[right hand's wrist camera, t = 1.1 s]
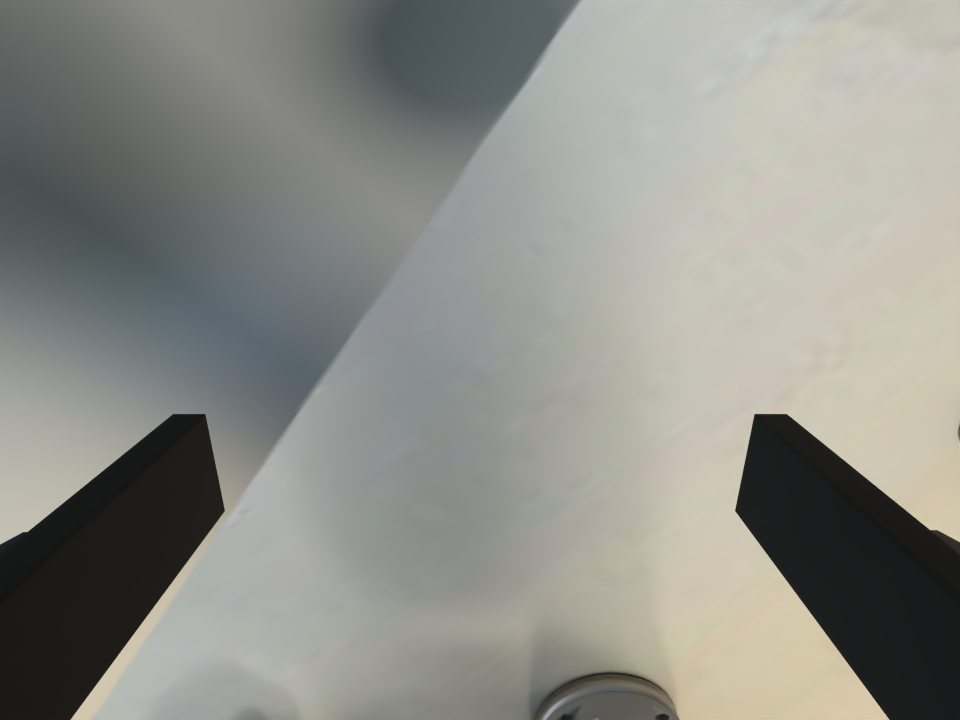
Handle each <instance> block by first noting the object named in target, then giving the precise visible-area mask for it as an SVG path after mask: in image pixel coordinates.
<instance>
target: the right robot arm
mask: <svg viewBox="0 0 960 720" xmlns="http://www.w3.org/2000/svg"><path fill="white" fill-rule="evenodd" d="M224 511H225V510H224V505H223V500H222V495H221V490H220V485H219V480H218V475H217V470H216V465H215V460H214V455H213V450H212V445H211V440H210V435H209V430H208V425H207V420H206V415H205V414H173V415H172V416H170V417H169V418H168V419H167V420H166V421H164V422H163V423H162V424H161V425H159V426H158V427H157V428H156V429H154V430H153V431H152V432H151V433H149V434H148V435H147V436H146V437H145V438H143V439H142V440H141V441H140V442H138V443H137V444H136V445H135V446H133V447H132V448H131V449H130V450H128V451H127V452H126V453H125V454H123V455H122V456H121V457H120V458H119V459H117V460H116V461H115V462H114V463H112V464H111V465H110V466H109V467H107V468H106V469H105V470H104V471H103V472H101V473H100V474H99V475H98V476H96V477H95V478H94V479H93V480H91V481H90V482H89V483H88V484H86V485H85V486H84V487H83V488H82V489H80V490H79V491H78V492H77V493H75V494H74V495H73V496H72V497H70V498H69V499H68V500H67V501H65V502H64V503H63V504H62V505H61V506H59V507H58V508H57V509H56V510H54V511H53V512H52V513H51V514H49V515H48V516H47V517H46V518H45V519H43V520H42V521H41V522H40V523H38V524H37V525H36V526H35V527H33V528H32V529H31V530H30V531H28V532H23V533H21V534H19V535H17V536H15V537H13V538H12V539H10V540H8V541H6V542H4V543H2V544H1V545H0V720H71V718H72V717H73V715H74V714H75V713H76V711H77V710H78V709H79V707H80V706H81V705H82V703H83V702H84V701H85V699H86V698H87V696H88V695H89V694H90V692H91V691H92V690H93V688H94V687H95V686H96V684H97V683H98V682H99V680H100V679H101V678H102V676H103V675H104V674H105V672H106V671H107V670H108V668H109V667H110V665H111V664H112V663H113V661H114V660H115V659H116V657H117V656H118V655H119V653H120V652H121V651H122V649H123V648H124V647H125V645H126V644H127V642H128V641H129V640H130V638H131V637H132V636H133V634H134V633H135V632H136V630H137V629H138V628H139V626H140V625H141V624H142V622H143V621H144V619H145V618H146V617H147V615H148V614H149V613H150V611H151V610H152V609H153V607H154V606H155V605H156V603H157V602H158V601H159V599H160V598H161V596H162V595H163V594H164V592H165V591H166V590H167V588H168V587H169V586H170V584H171V583H172V582H173V580H174V579H175V578H176V576H177V575H178V573H179V572H180V571H181V569H182V568H183V567H184V565H185V564H186V563H187V561H188V560H189V559H190V557H191V556H192V555H193V553H194V552H195V551H196V549H197V548H198V546H199V545H200V544H201V542H202V541H203V540H204V538H205V537H206V536H207V534H208V533H209V532H210V530H211V529H212V528H213V526H214V525H215V523H216V522H217V521H218V519H219V518H220V517H221V515H222V514H223V513H224ZM735 511H736V513H737V514H738V515H739V517H740V518H741V519H742V521H743V522H744V523H745V525H746V526H747V528H748V529H749V530H750V532H751V533H752V534H753V536H754V537H755V538H756V540H757V541H758V542H759V544H760V545H761V546H762V548H763V549H764V551H765V552H766V553H767V555H768V556H769V557H770V559H771V560H772V561H773V563H774V564H775V565H776V567H777V568H778V569H779V571H780V572H781V574H782V575H783V576H784V578H785V579H786V580H787V582H788V583H789V584H790V586H791V587H792V588H793V590H794V591H795V592H796V594H797V595H798V596H799V598H800V599H801V601H802V602H803V603H804V605H805V606H806V607H807V609H808V610H809V611H810V613H811V614H812V615H813V617H814V618H815V619H816V621H817V622H818V624H819V625H820V626H821V628H822V629H823V630H824V632H825V633H826V634H827V636H828V637H829V638H830V640H831V641H832V642H833V644H834V645H835V647H836V648H837V649H838V651H839V652H840V653H841V655H842V656H843V657H844V659H845V660H846V661H847V663H848V664H849V665H850V667H851V668H852V670H853V671H854V672H855V674H856V675H857V676H858V678H859V679H860V680H861V682H862V683H863V684H864V686H865V687H866V688H867V690H868V691H869V692H870V694H871V695H872V697H873V698H874V699H875V701H876V702H877V703H878V705H879V706H880V707H881V709H882V710H883V711H884V713H885V714H886V715H887V717H888V718H889V720H960V542H958V541H956V540H954V539H953V538H951V537H949V536H947V535H945V534H943V533H941V532H939V531H938V530H929V529H928V528H927V527H925V526H924V525H923V524H922V523H920V522H919V521H918V520H917V519H916V518H914V517H913V516H912V515H911V514H909V513H908V512H907V511H906V510H904V509H903V508H902V507H901V506H900V505H898V504H897V503H896V502H895V501H893V500H892V499H891V498H890V497H888V496H887V495H886V494H885V493H883V492H882V491H881V490H880V489H879V488H877V487H876V486H875V485H874V484H872V483H871V482H870V481H869V480H867V479H866V478H865V477H864V476H862V475H861V474H860V473H859V472H858V471H856V470H855V469H854V468H853V467H851V466H850V465H849V464H848V463H846V462H845V461H844V460H843V459H841V458H840V457H839V456H838V455H837V454H835V453H834V452H833V451H832V450H830V449H829V448H828V447H827V446H825V445H824V444H823V443H822V442H820V441H819V440H818V439H817V438H816V437H814V436H813V435H812V434H811V433H809V432H808V431H807V430H806V429H804V428H803V427H802V426H801V425H799V424H798V423H797V422H796V421H795V420H793V419H792V418H791V417H790V416H788V415H787V414H755V415H754V420H753V425H752V430H751V435H750V440H749V445H748V450H747V455H746V460H745V465H744V470H743V475H742V480H741V485H740V490H739V495H738V500H737V505H736V510H735ZM535 720H679V717H678V714H677V712H676V709H675V706H674V704H673V702H672V701H671V699H670V698H669V697H668V696H667V694H666V693H665V692H663V691H662V690H661V689H660V688H658V687H657V686H655V685H654V684H652V683H650V682H648V681H645V680H643V679H640V678H636V677H632V676H627V675H618V674H604V675H596V676H590V677H586V678H582V679H579V680H576V681H574V682H571V683H569V684H567V685H565V686H563V687H561V688H560V689H558V690H557V691H555V692H554V693H553V694H551V695H550V696H549V697H548V698H547V699H546V700H545V701H544V702H543V704H542V705H541V707H540V708H539V710H538V712H537V714H536V717H535Z"/></svg>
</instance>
